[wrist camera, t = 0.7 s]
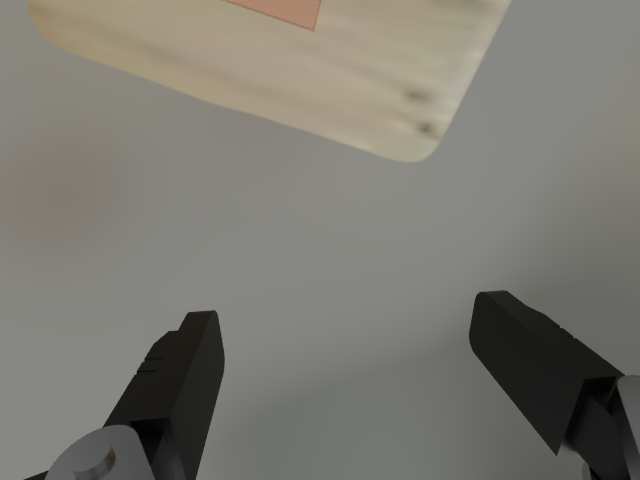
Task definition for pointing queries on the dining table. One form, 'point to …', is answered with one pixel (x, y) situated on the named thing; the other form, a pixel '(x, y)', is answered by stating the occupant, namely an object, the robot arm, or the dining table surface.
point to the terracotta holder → (285, 10)
